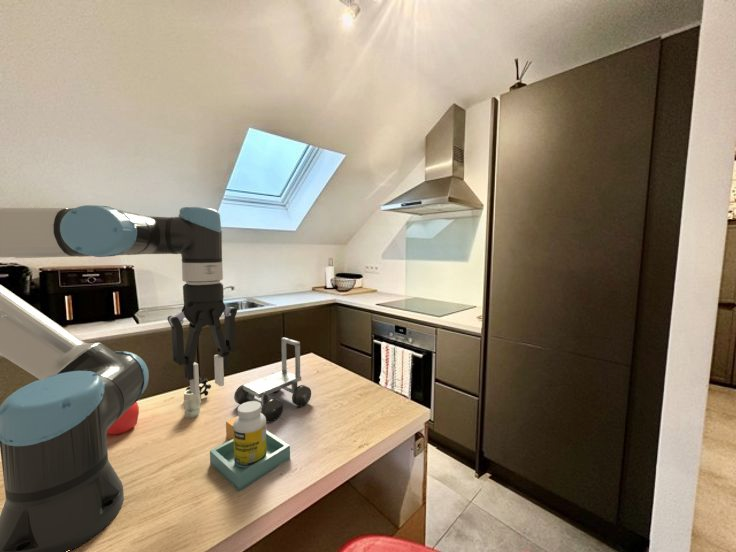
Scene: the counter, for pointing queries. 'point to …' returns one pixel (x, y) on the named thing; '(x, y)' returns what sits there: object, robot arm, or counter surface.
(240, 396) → the trolley
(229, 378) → the counter surface
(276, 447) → the tray
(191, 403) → the valve
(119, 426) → the apple
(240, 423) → the pill bottle
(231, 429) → the block
